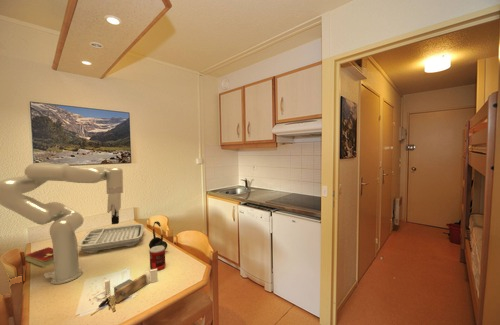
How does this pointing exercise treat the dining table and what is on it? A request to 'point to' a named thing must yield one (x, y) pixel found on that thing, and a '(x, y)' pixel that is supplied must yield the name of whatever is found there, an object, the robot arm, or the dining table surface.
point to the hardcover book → (41, 257)
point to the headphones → (157, 239)
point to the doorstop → (121, 285)
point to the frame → (151, 275)
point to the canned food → (157, 258)
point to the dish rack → (111, 237)
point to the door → (130, 288)
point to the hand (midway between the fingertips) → (115, 223)
